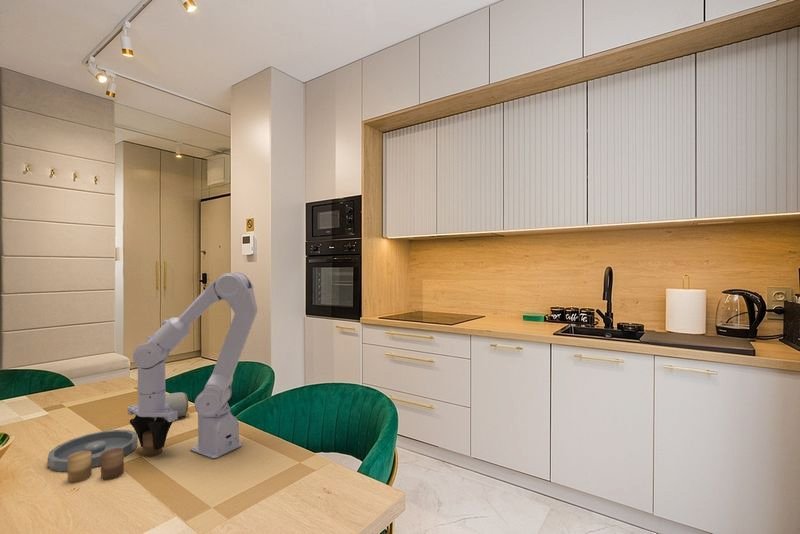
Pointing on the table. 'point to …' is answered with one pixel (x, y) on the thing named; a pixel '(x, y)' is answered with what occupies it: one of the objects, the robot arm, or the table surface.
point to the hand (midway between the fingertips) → (152, 446)
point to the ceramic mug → (178, 403)
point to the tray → (92, 447)
